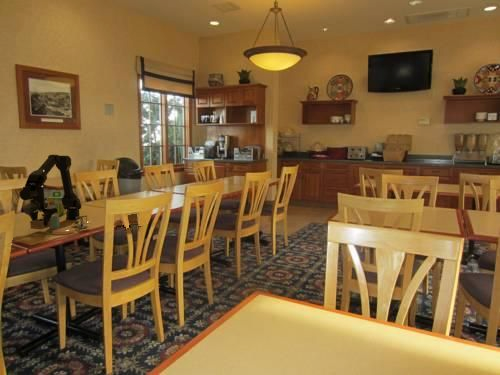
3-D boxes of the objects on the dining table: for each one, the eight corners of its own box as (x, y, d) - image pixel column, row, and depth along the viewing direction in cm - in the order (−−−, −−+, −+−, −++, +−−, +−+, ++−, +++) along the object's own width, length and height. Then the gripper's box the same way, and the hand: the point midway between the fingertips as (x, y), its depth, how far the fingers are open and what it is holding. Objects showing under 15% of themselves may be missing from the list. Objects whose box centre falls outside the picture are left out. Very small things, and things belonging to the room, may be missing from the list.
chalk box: (48, 216, 237) (46, 193, 235) (51, 213, 246) (50, 190, 243) (64, 215, 239) (62, 192, 237) (67, 212, 248) (65, 190, 246)
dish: (68, 228, 208) (68, 226, 208) (79, 231, 202) (79, 229, 201) (48, 232, 199) (48, 230, 199) (59, 236, 193) (59, 234, 192)
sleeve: (40, 225, 204) (40, 218, 203) (50, 226, 202) (50, 219, 201) (30, 228, 198) (30, 221, 197) (40, 229, 196) (40, 222, 195)
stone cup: (140, 221, 225) (139, 197, 222) (143, 226, 214) (142, 200, 212) (113, 223, 219) (112, 198, 216) (115, 228, 208) (114, 202, 206)
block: (52, 226, 211) (51, 214, 210) (59, 226, 211) (58, 214, 210) (49, 228, 207) (48, 216, 206) (57, 228, 208) (56, 216, 206)
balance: (70, 226, 212) (69, 213, 211) (78, 224, 216) (77, 211, 215) (85, 230, 203) (84, 216, 202) (93, 228, 208) (93, 215, 206)
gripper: (11, 198, 192) (13, 228, 195) (40, 200, 187) (42, 230, 189) (29, 195, 203) (31, 223, 205) (57, 197, 198) (59, 225, 200)
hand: (40, 225), depth 200 cm, fingers closed on sleeve, 7 cm apart
